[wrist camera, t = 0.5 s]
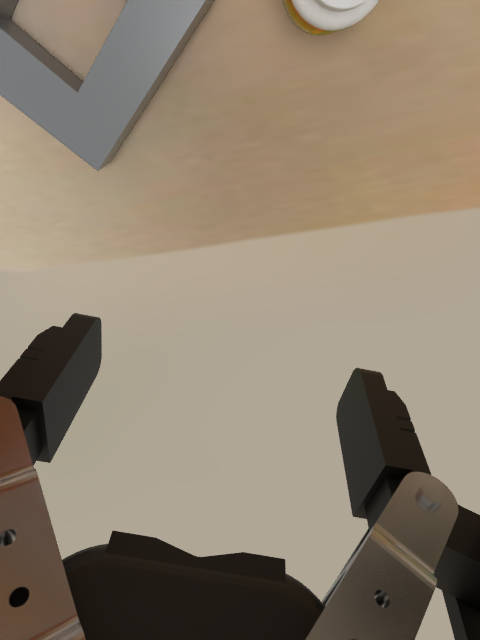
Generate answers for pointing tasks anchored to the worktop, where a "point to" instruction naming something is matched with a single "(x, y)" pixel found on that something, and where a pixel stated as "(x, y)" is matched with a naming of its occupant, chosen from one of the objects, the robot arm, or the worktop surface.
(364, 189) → the worktop surface
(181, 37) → the socket block
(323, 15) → the supplement bottle
